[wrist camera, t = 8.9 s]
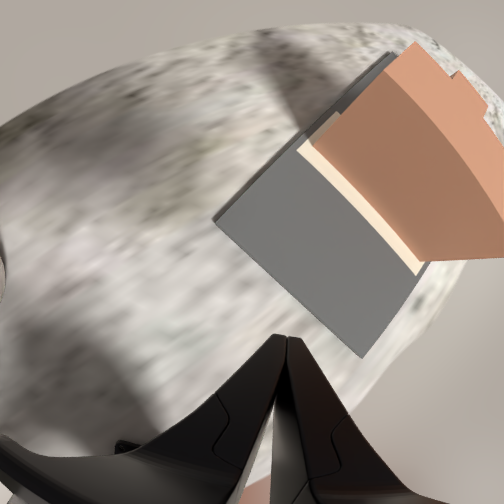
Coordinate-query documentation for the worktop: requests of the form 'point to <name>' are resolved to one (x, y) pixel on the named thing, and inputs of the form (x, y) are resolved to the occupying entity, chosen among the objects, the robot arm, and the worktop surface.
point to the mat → (326, 237)
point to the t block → (424, 159)
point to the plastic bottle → (2, 279)
